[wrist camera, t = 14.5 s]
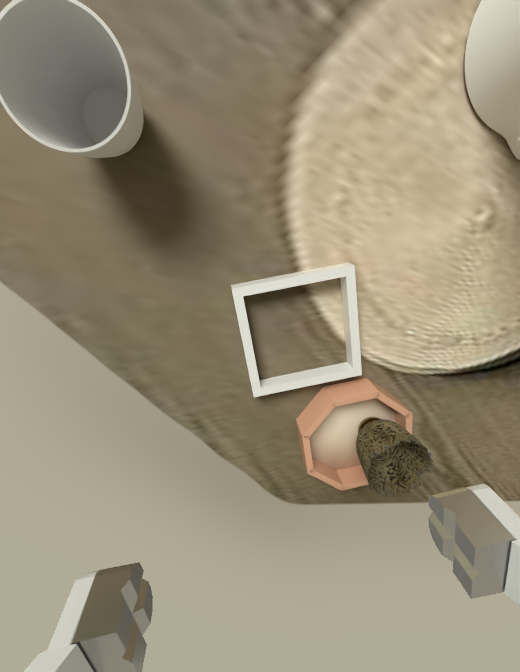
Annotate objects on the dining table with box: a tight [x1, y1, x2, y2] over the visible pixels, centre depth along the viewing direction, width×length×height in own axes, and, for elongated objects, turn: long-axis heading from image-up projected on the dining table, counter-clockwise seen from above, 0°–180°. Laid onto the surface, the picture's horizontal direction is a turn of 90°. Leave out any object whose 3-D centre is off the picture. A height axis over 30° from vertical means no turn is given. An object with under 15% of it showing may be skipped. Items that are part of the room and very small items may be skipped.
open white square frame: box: [231, 263, 362, 397], centre depth 37 cm, size 13×13×2 cm
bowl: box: [296, 378, 412, 491], centre depth 42 cm, size 14×14×4 cm
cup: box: [0, 0, 143, 158], centre depth 25 cm, size 8×8×10 cm
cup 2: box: [356, 417, 434, 496], centre depth 39 cm, size 8×7×8 cm
